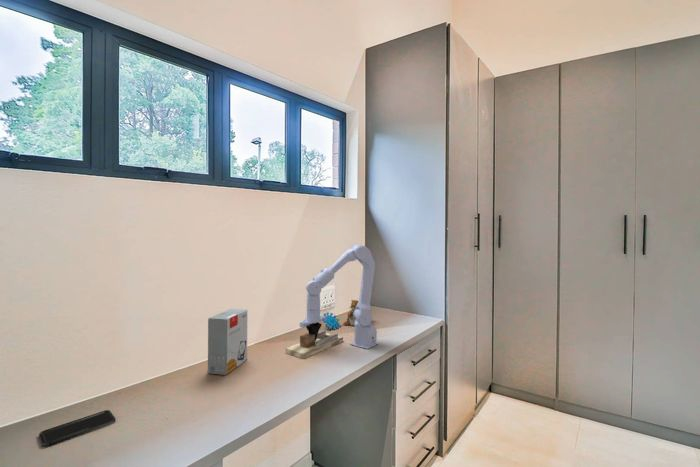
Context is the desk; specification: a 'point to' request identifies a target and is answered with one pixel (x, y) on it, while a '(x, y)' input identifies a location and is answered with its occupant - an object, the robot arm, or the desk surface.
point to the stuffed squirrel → (351, 314)
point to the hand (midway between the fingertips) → (313, 340)
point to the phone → (76, 428)
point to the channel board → (321, 343)
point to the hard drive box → (227, 341)
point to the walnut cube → (307, 340)
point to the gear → (331, 320)
